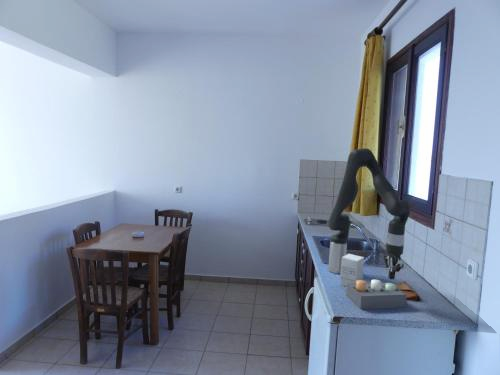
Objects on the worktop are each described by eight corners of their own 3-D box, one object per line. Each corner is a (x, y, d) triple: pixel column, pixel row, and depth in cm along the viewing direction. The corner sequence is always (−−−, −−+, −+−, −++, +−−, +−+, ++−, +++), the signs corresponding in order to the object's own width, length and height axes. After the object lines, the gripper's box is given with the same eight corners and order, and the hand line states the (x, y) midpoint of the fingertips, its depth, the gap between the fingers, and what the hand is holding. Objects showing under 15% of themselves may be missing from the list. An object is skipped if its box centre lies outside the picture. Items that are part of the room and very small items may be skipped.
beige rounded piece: (353, 291, 162) (354, 279, 162) (362, 290, 163) (363, 279, 163) (358, 295, 158) (359, 283, 157) (367, 295, 159) (368, 283, 158)
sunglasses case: (388, 285, 183) (396, 275, 182) (400, 292, 183) (407, 282, 182) (402, 300, 165) (410, 289, 164) (414, 308, 165) (422, 297, 164)
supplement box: (346, 280, 188) (348, 253, 186) (362, 284, 182) (364, 257, 180) (339, 284, 181) (341, 256, 179) (355, 289, 175) (358, 260, 173)
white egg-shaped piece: (368, 290, 164) (369, 279, 163) (377, 290, 165) (378, 279, 164) (373, 294, 159) (374, 283, 159) (382, 294, 160) (383, 283, 159)
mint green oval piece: (382, 294, 165) (383, 283, 165) (391, 293, 166) (392, 282, 165) (388, 298, 161) (389, 286, 160) (397, 298, 162) (398, 286, 161)
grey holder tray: (346, 295, 167) (346, 283, 166) (387, 294, 171) (388, 282, 170) (360, 309, 153) (361, 296, 153) (405, 307, 158) (406, 294, 157)
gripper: (379, 238, 166) (376, 273, 168) (396, 247, 153) (392, 284, 156) (394, 238, 168) (390, 273, 170) (411, 247, 155) (407, 284, 157)
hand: (391, 278), depth 163 cm, fingers closed
